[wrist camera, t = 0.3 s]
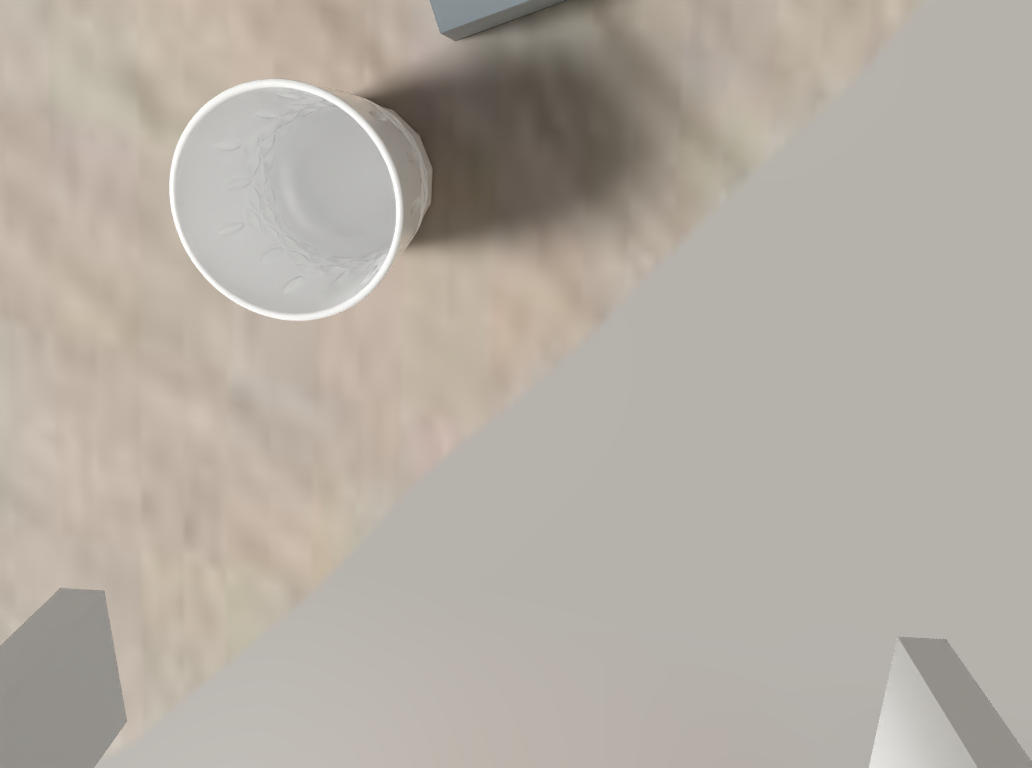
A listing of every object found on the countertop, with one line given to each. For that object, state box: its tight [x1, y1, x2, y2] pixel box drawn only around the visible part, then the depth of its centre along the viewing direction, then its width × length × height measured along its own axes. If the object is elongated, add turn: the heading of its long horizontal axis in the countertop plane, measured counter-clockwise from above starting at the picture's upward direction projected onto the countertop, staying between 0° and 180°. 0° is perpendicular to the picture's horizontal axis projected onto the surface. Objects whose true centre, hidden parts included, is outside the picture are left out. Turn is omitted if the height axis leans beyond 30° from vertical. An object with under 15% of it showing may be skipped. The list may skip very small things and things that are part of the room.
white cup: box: [169, 79, 433, 321], centre depth 31 cm, size 8×8×10 cm
